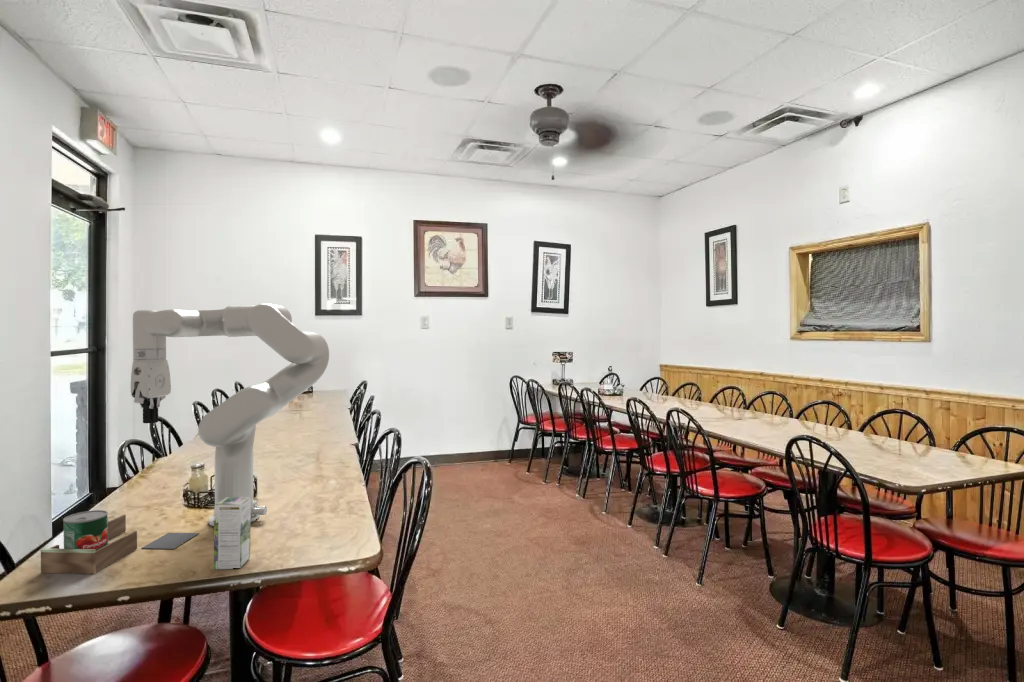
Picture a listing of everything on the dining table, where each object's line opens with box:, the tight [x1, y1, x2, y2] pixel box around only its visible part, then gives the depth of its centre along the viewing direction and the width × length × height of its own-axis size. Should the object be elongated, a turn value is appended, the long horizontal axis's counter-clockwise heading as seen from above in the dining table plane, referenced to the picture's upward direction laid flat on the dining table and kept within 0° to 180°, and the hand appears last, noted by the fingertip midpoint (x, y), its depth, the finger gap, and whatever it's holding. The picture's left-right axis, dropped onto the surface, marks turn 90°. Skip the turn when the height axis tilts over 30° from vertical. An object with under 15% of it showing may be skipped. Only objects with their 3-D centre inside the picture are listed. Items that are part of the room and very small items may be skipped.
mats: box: [141, 532, 200, 550], centre depth 132 cm, size 24×18×1 cm
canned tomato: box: [62, 509, 109, 550], centre depth 122 cm, size 8×8×11 cm
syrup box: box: [213, 496, 252, 570], centre depth 123 cm, size 6×6×14 cm
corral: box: [40, 514, 138, 574], centre depth 130 cm, size 12×24×5 cm, turn 178°
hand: (150, 422), depth 150 cm, fingers closed
